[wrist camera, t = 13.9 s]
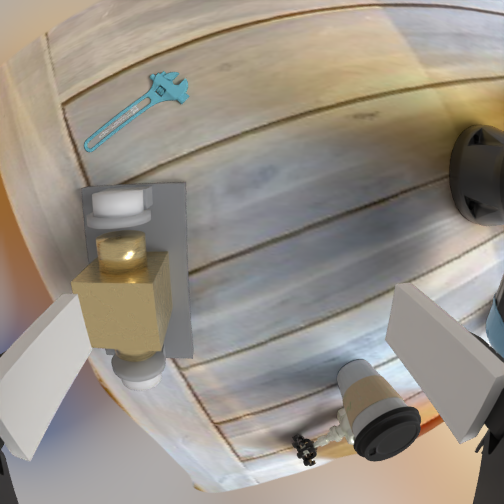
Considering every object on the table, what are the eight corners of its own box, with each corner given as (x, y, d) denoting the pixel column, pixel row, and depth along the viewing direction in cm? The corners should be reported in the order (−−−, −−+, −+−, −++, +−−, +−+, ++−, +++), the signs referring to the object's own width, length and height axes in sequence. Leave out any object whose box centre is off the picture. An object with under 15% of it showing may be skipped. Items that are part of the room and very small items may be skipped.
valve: (349, 396, 46) (288, 430, 47) (363, 423, 40) (295, 459, 41) (363, 413, 48) (306, 445, 49) (376, 438, 42) (314, 471, 43)
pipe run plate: (185, 182, 34) (173, 192, 25) (193, 351, 40) (189, 398, 31) (86, 186, 32) (48, 198, 24) (109, 348, 39) (89, 391, 30)
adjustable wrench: (173, 60, 29) (196, 94, 30) (174, 62, 30) (197, 95, 31) (73, 133, 30) (94, 167, 31) (77, 133, 31) (97, 166, 32)
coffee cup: (314, 379, 44) (344, 454, 29) (362, 338, 42) (410, 407, 28) (346, 403, 46) (378, 470, 32) (390, 367, 45) (434, 429, 31)
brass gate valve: (167, 225, 33) (149, 249, 25) (174, 329, 37) (165, 375, 29) (99, 226, 32) (65, 250, 24) (114, 327, 36) (92, 370, 28)
